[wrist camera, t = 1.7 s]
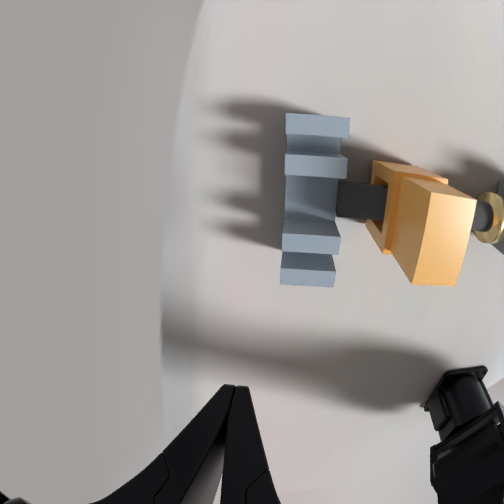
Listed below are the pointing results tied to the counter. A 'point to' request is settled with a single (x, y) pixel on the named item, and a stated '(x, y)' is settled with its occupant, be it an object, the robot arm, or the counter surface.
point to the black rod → (374, 203)
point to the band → (500, 226)
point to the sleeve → (422, 223)
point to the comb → (312, 198)
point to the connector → (503, 243)
